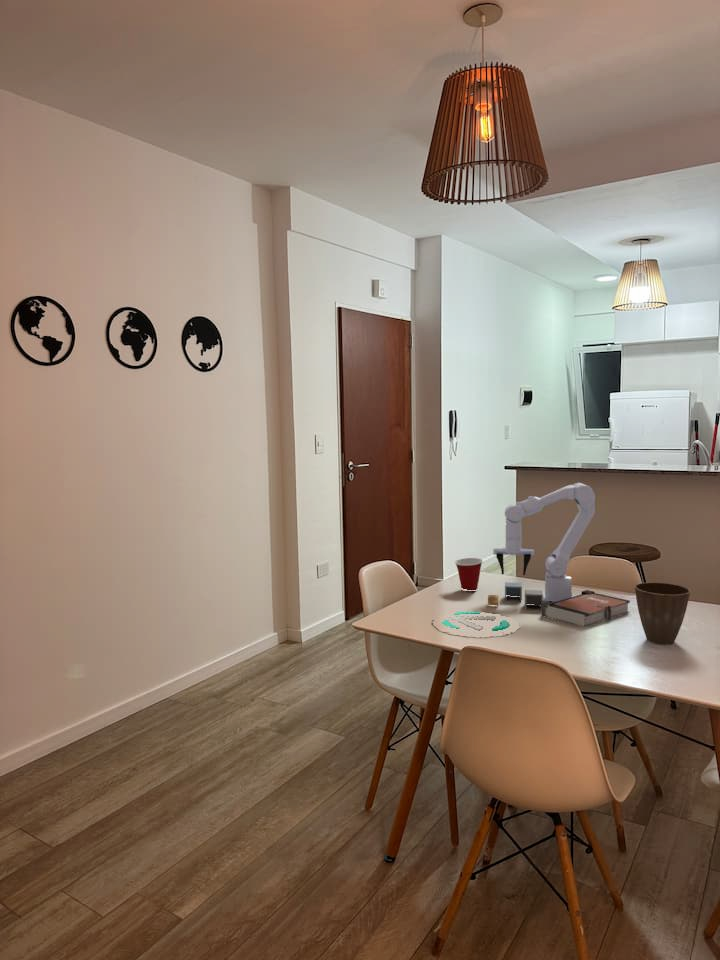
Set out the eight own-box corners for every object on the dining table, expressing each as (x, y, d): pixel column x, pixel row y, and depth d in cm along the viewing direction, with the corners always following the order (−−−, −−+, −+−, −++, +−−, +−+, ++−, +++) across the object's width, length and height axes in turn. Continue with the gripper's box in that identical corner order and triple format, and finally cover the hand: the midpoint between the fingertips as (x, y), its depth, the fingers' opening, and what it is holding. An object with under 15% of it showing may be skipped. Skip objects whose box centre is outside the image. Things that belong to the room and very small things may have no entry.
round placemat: (452, 609, 240) (452, 605, 240) (530, 620, 226) (530, 615, 226) (417, 631, 216) (417, 626, 216) (502, 644, 202) (502, 639, 202)
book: (586, 629, 215) (586, 614, 215) (541, 617, 229) (541, 602, 228) (631, 614, 231) (631, 599, 230) (586, 603, 245) (586, 590, 244)
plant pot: (642, 629, 212) (643, 579, 211) (694, 639, 203) (695, 586, 201) (626, 642, 201) (627, 589, 199) (680, 652, 191) (682, 597, 190)
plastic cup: (451, 587, 268) (450, 558, 267) (477, 586, 270) (476, 556, 269) (459, 594, 257) (459, 563, 256) (486, 593, 259) (486, 562, 258)
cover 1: (521, 597, 252) (521, 582, 252) (521, 601, 247) (521, 586, 246) (505, 596, 254) (505, 582, 253) (504, 600, 248) (505, 586, 247)
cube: (498, 604, 243) (498, 595, 243) (497, 607, 240) (497, 597, 240) (488, 604, 244) (488, 594, 244) (487, 606, 241) (487, 597, 240)
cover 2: (542, 605, 241) (542, 590, 241) (542, 610, 235) (542, 594, 235) (524, 604, 242) (524, 589, 242) (524, 609, 237) (525, 594, 236)
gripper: (493, 539, 246) (493, 575, 247) (534, 540, 243) (534, 577, 244) (493, 535, 253) (493, 571, 254) (533, 536, 249) (533, 572, 251)
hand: (513, 574), depth 249 cm, fingers open, 7 cm apart
